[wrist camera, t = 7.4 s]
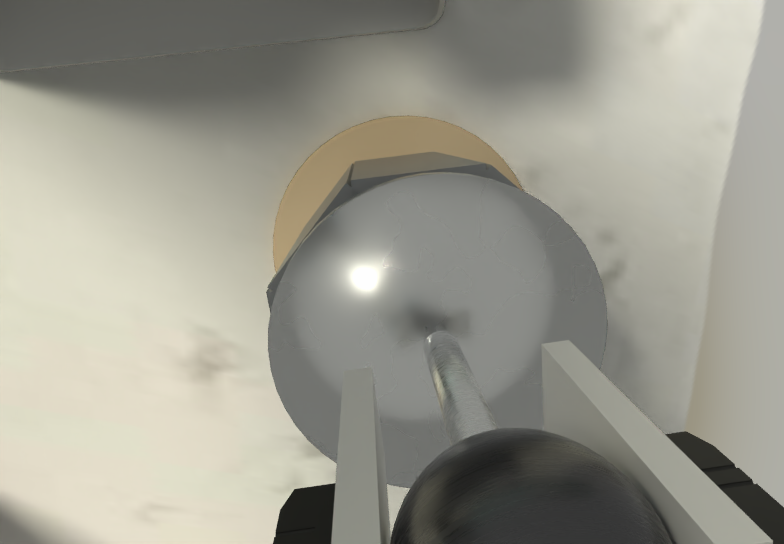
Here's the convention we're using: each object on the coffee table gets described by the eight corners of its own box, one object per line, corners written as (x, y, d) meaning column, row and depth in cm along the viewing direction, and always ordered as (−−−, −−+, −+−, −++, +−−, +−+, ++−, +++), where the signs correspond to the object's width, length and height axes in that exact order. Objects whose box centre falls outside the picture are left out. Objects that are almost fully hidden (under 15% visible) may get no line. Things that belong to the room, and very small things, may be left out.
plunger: (290, 170, 26) (-121, 378, 4) (500, 144, 26) (1255, 195, 4) (324, 362, 29) (209, 1070, 7) (510, 336, 29) (956, 938, 7)
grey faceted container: (251, 133, 27) (162, 132, 15) (525, 100, 28) (653, 73, 15) (302, 396, 32) (266, 555, 20) (534, 364, 32) (637, 501, 20)
